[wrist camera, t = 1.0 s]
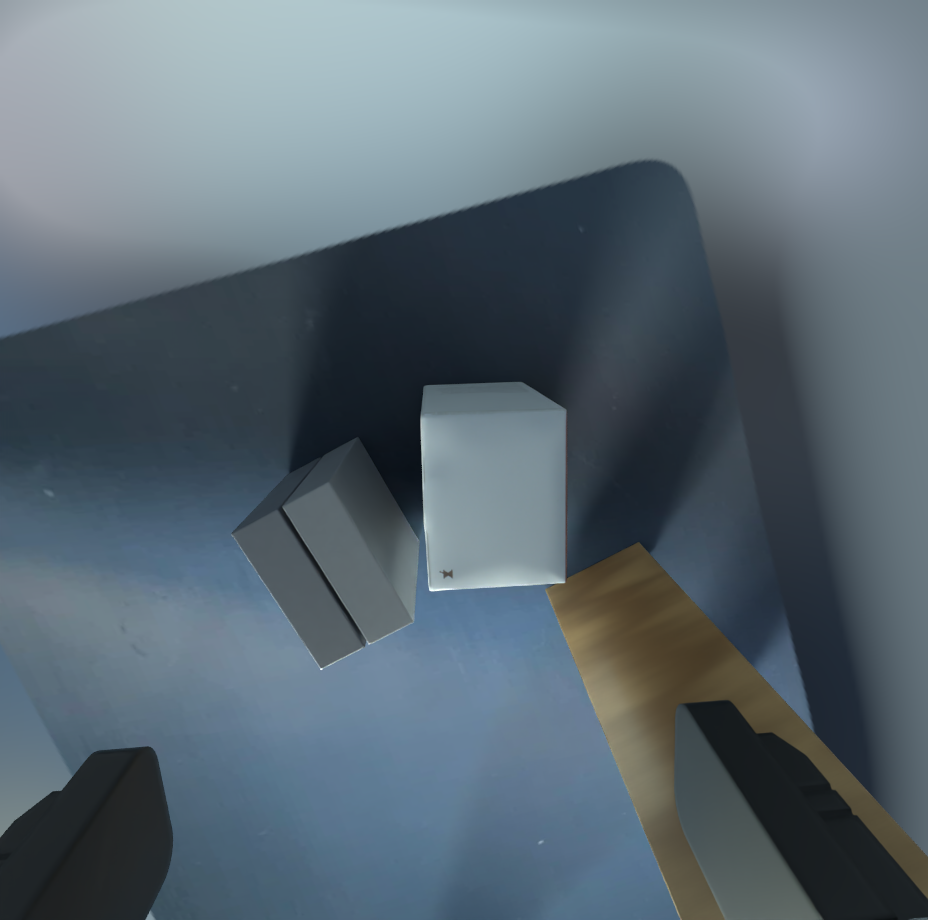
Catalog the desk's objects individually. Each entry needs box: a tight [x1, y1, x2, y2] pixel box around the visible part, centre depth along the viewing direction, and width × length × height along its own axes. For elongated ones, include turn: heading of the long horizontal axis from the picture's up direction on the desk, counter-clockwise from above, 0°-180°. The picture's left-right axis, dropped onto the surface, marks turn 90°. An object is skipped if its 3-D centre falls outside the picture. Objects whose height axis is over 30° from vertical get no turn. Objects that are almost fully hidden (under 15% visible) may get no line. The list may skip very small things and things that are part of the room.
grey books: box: [232, 437, 419, 669], centre depth 34 cm, size 5×8×11 cm, turn 28°
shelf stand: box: [546, 542, 928, 920], centre depth 29 cm, size 7×15×28 cm, turn 28°
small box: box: [421, 382, 567, 591], centre depth 33 cm, size 8×6×13 cm
